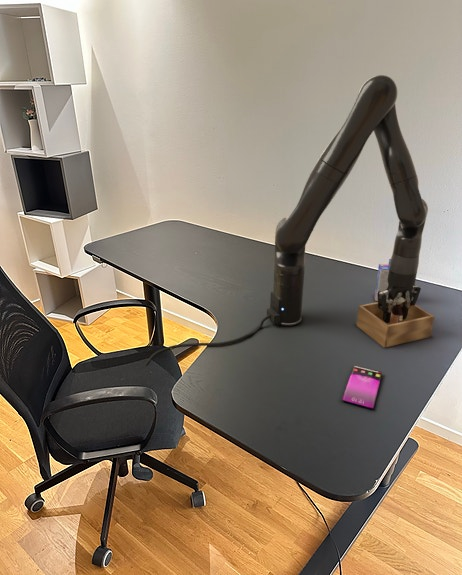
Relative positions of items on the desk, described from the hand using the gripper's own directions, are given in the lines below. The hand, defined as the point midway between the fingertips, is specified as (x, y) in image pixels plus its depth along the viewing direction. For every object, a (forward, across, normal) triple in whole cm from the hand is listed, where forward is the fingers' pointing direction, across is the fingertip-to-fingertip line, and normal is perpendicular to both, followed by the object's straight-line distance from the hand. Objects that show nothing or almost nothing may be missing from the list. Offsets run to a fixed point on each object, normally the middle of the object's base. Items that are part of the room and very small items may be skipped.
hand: (394, 319), depth 133 cm
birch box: (+4, 0, 0) cm, 4 cm away
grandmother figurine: (+4, 0, 0) cm, 4 cm away
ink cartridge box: (+4, -13, -18) cm, 23 cm away
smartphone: (+4, +25, +20) cm, 32 cm away
